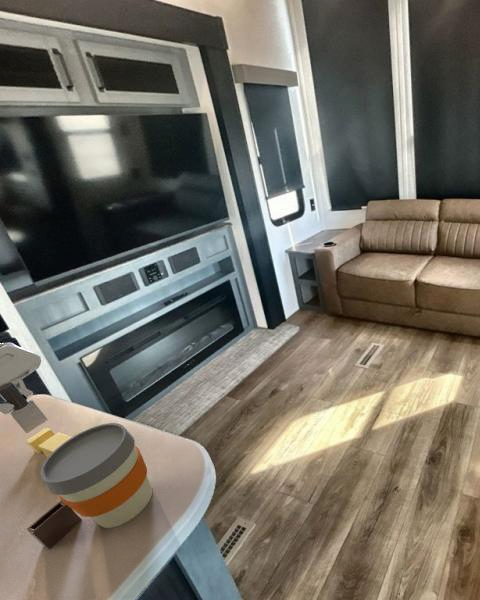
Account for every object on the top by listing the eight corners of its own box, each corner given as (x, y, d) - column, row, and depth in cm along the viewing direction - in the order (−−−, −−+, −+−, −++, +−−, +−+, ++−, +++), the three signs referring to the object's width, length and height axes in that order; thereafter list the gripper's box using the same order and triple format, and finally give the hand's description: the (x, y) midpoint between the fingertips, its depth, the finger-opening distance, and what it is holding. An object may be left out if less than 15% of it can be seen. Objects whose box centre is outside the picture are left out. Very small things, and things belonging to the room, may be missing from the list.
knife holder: (49, 549, 63) (32, 532, 60) (42, 545, 63) (25, 529, 61) (81, 520, 67) (67, 503, 65) (75, 516, 68) (60, 500, 65)
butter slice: (58, 439, 86) (50, 429, 85) (39, 453, 83) (30, 442, 81) (54, 437, 87) (45, 427, 85) (34, 451, 84) (25, 440, 82)
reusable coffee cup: (177, 482, 72) (143, 428, 65) (116, 548, 62) (68, 492, 55) (134, 468, 76) (98, 416, 69) (70, 527, 66) (20, 473, 59)
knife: (29, 434, 79) (-5, 394, 73) (23, 431, 80) (-11, 392, 74) (50, 420, 82) (19, 381, 77) (44, 418, 83) (12, 379, 78)
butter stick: (84, 449, 83) (76, 438, 81) (65, 464, 79) (56, 453, 78) (66, 442, 85) (58, 432, 84) (46, 456, 82) (37, 445, 80)
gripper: (2, 347, 85) (61, 379, 88) (-114, 413, 67) (-35, 450, 70) (6, 331, 82) (67, 364, 85) (-114, 395, 64) (-32, 434, 68)
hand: (20, 403), depth 78 cm, fingers closed on knife, 2 cm apart
